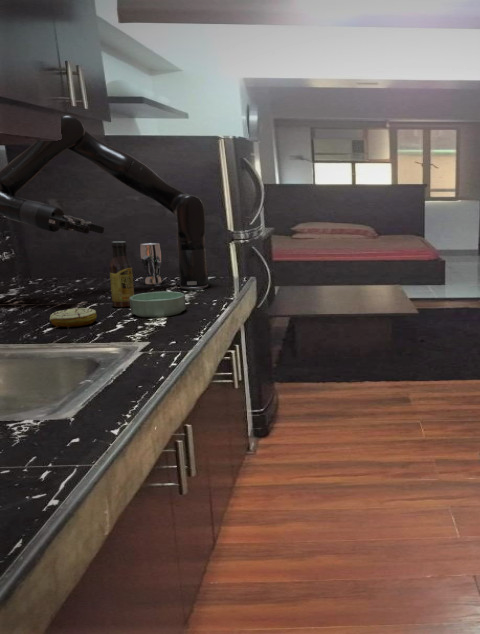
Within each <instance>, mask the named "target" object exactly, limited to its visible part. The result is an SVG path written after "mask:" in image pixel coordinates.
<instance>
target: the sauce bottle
mask: <svg viewBox="0 0 480 634" xmlns="http://www.w3.org/2000/svg"><path fill="white" fill-rule="evenodd" d="M111 247H112V258H111V261H110V262H109V280H110V293H111V301H112V306H113V307H114V308H130V299H129V298H130V297H131V296H133V295H135V286H134V285H135V284H134V273H133V267H132V264H131V262H130V259H129V258H128V254H127V241H123V240H121V241H119V240H118V241H111Z"/></svg>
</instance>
